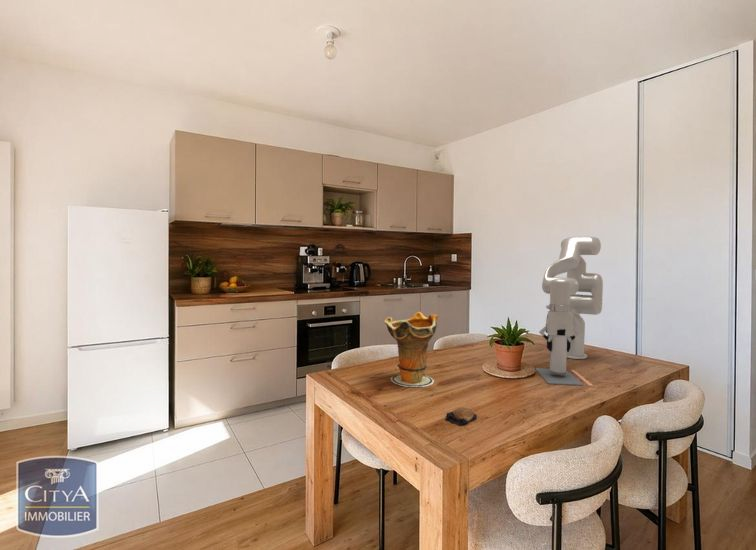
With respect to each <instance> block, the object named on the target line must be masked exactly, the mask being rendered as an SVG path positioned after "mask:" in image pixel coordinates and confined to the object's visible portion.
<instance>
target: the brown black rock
mask: <svg viewBox="0 0 756 550" xmlns="http://www.w3.org/2000/svg"><path fill="white" fill-rule="evenodd" d="M478 417H479V414H476V413H474V411H473V410H471V409H470V408H467V407H465V406H460V407H457V408H455V409H454V410H452V411H450V412H447V413H446V417H445V418H444V421H445V422H448V423H451V424H453V425H456V426H459V427H466V426H467V425H469V424H471V423H472V422H474V421H476V420H477V418H478Z"/></svg>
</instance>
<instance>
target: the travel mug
mask: <svg viewBox="0 0 756 550" xmlns="http://www.w3.org/2000/svg"><path fill="white" fill-rule="evenodd" d="M565 332H566V329H563V330H557V335H556V336H553V337H552V339H551V342H552V351H549V352H550V353H549V354H550V355H549V356H550V358H549V369H550V372H551V373H552V374H556V375H565V374H566V370H567V359H568V358H567V336H566V335H565Z"/></svg>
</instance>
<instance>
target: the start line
mask: <svg viewBox="0 0 756 550" xmlns="http://www.w3.org/2000/svg"><path fill="white" fill-rule="evenodd" d="M570 371H571V372H572V373H573V374H574V375H575V376H577V377H578V378H579V379H580V380H581V381H582V382H584V383H585V384H586V385H587V386H588V387H594V385H593V384H592V383H591V382H590V381H588V380H587V379H586V378H585V377H584V376H582V375H581V373H579V372H578V371H576V369H571V370H570Z"/></svg>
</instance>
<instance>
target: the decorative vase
mask: <svg viewBox="0 0 756 550" xmlns="http://www.w3.org/2000/svg"><path fill="white" fill-rule="evenodd" d="M438 317H439V315H438V314H429V315H428V317H426V316H425V315H424V313H422V312H421V311H417V312H415V313H414V314H413V316H412V317H411V318H407V319H400V320H393V317H391V316H387V317H386V318H385V319H384V321H383V323H384V324H385V325H386V328H387V331H388V333H389V335H390V336H391V337H392V338H393V339H394V340H395V341H396V343H397V349H398V350H397V354H398V362H399V363H398V364H397V367H398V368H399V374H396V375H393V376H391V377H390V378H389V379H390V380H391V382H392V383H393V384H395V385H399V386H401V387H405V388H408V387H409V388H421V387H428V386H431V385H434V382H435V380H434V379H433V378H432V377H431V376H428V375H426V374H425V373H426V369H427V368H428V367H427V366H428V365H427V358H428V347H429V342H430V340H431V339H432V338H433V337H434V336H436V335H435V334H436V331H437V327H438V326H437V325H438V324H437V319H438ZM397 367H395V371H396V370H397Z"/></svg>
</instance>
